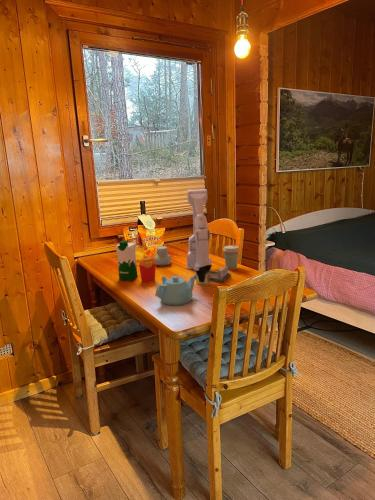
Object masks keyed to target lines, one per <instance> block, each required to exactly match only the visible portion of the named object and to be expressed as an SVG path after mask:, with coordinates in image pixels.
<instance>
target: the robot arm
mask: <svg viewBox="0 0 375 500" xmlns="http://www.w3.org/2000/svg"><path fill="white" fill-rule="evenodd" d="M207 201H208V190H207V189H206V188H204V189H188V190H187V204H188V205H191V207H192V221H193V222H192V224H193V225H192V229H193V234H192V235H190V236H189V238H188V252H187V254H186V269H189V270H190V269H191V270H193V271H194V272H196V273H197V275H198V279H199V282H204V276H205V272H206V271H211V269H212V258H210V250H209V249H210V248H209V244H210V243H209V241H210V237H211V235H210V234H211V233H210V229H209V226H208V221H207V216H206V215H205V212H204V205H205V204H206V203H207ZM196 273H195V274H196Z"/></svg>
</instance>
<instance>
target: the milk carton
mask: <svg viewBox="0 0 375 500" xmlns="http://www.w3.org/2000/svg"><path fill="white" fill-rule="evenodd" d="M136 247H137V243H136V242H128V240H120V241H119V244H117V245H116V246H115V251H116V255H117V256H116V257H117V265H118V266H117V267H118V280H119V281H124V282H125V281H127V282H132V281H134V280H135V279H136V278H138V269H137V255H136Z"/></svg>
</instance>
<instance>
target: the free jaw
mask: <svg viewBox="0 0 375 500" xmlns="http://www.w3.org/2000/svg"><path fill="white" fill-rule="evenodd" d="M217 271H218V278H223V277H225V276H226V275H227V274H228V273H229V270H228V267H227V266H226V265H224V266H222V267H221V268H219V269H218V270H217Z"/></svg>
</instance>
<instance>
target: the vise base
mask: <svg viewBox="0 0 375 500" xmlns="http://www.w3.org/2000/svg"><path fill="white" fill-rule="evenodd" d="M194 272H195V271H194ZM210 272H211V282H214V283H219V284H223V283H225V281H227V280H228V279H229V278H231V277H232V273H230V272H228V274H227V275H226V276H225V277H223V278H218V270H210ZM192 277H195V280H196V272H195V274H194V275H193V276H192Z"/></svg>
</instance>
